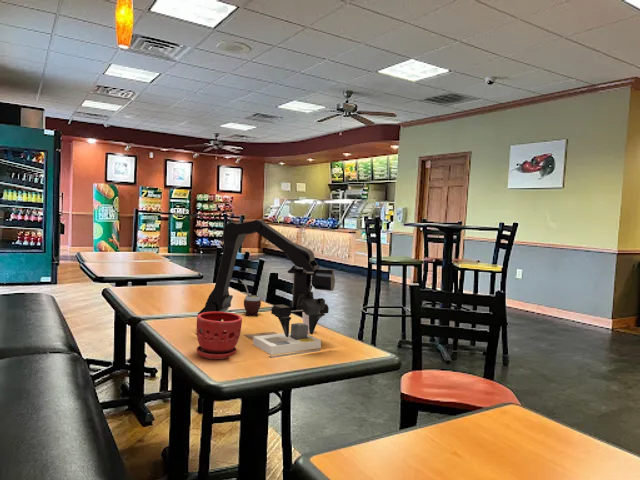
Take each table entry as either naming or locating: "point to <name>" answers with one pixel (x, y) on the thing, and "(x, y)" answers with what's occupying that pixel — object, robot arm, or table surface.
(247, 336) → the deck
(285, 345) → the socket block
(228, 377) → the table surface
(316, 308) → the robot arm
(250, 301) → the mate gourd
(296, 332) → the plug
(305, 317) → the smoothie
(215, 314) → the plant pot
